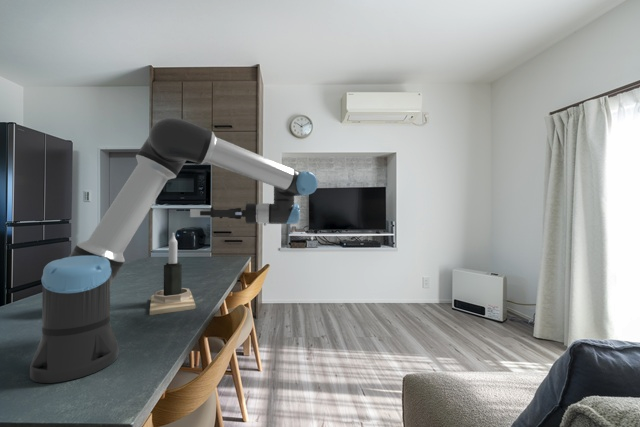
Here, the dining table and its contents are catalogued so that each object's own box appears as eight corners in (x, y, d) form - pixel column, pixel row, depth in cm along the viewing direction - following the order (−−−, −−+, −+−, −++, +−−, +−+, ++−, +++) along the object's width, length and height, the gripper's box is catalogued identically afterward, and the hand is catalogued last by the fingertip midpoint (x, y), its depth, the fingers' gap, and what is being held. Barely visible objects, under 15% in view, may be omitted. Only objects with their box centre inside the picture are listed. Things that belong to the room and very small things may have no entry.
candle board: (195, 308, 104) (195, 297, 104) (149, 315, 97) (149, 303, 97) (190, 295, 121) (190, 285, 121) (151, 299, 114) (151, 289, 114)
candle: (182, 297, 112) (183, 232, 112) (169, 301, 107) (170, 233, 107) (175, 295, 114) (175, 232, 114) (162, 299, 110) (162, 232, 110)
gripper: (254, 225, 94) (185, 225, 91) (259, 222, 119) (204, 222, 116) (254, 202, 94) (185, 201, 91) (259, 204, 119) (204, 203, 116)
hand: (195, 213), depth 104 cm, fingers open, 13 cm apart
